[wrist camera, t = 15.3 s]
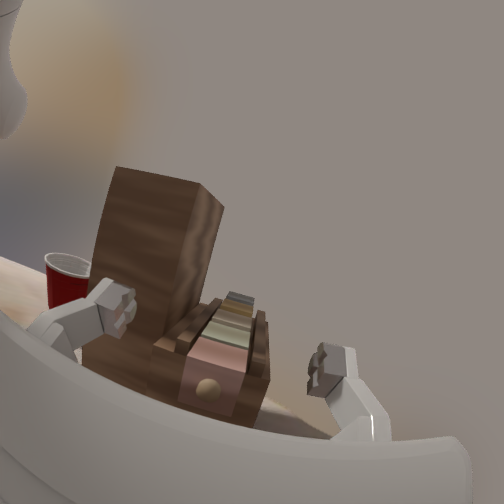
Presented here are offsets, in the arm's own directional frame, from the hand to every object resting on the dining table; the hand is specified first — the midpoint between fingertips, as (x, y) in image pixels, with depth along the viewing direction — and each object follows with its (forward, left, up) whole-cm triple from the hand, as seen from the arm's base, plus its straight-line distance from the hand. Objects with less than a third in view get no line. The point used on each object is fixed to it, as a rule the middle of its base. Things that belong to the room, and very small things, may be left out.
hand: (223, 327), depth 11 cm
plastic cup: (-39, -2, -19) cm, 43 cm away
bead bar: (-8, +8, -6) cm, 12 cm away
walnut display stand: (-14, +7, -19) cm, 25 cm away
